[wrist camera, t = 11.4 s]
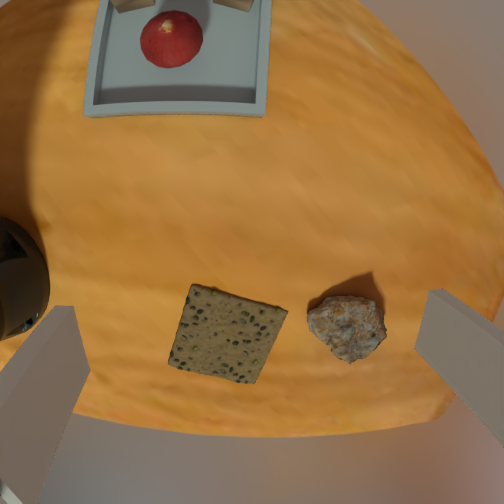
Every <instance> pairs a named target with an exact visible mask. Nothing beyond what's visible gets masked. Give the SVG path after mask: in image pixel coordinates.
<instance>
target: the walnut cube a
mask: <svg viewBox="0 0 504 504" xmlns="http://www.w3.org/2000/svg"><path fill="white" fill-rule="evenodd" d="M110 1H111V3H112V4H113V6H114V7H115V9H116V10H117V12H118V13H119V14H121V13H124V12H128V11H132V10H137V9H141V8H146V7H150V6H155V0H110Z"/></svg>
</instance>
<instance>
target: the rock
mask: <svg viewBox="0 0 504 504" xmlns="http://www.w3.org/2000/svg"><path fill="white" fill-rule="evenodd" d="M307 322H308V324H309V329H310V332H313V333H314V334H315V335H316V337H318V338H319V339H320V340H321V341H323V342H325V344H326V345H327V346H329V347H331V353H332V354H333V355H335V356H336V357H337V358H339V359H341V360H342V359H343V360H344V361H347V362H348V363H349V364H351V362H354V361H355V360H356V359H363V358H365V357H367V356H368V355H369V354H370V353H371V352H372V351H374V350H375V349H376V348H377V347H378V345H380V343H381V342H382V341H383V340H384V339H385V338H386V337H387V334H386V331H387V329H386V328H385V325H384V316H383V313H382V311H381V310H380V309H379V308H378V307H377V306H376V302H375V301H374V300H370V299H365V298H363V297H354V296H335V297H327V298H326V299H324V300H323V302H322V303H321V304H320V305H319V306H318V307H317V308H314V309H313V310H310V311H309V312H308V316H307Z"/></svg>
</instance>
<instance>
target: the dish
mask: <svg viewBox="0 0 504 504" xmlns="http://www.w3.org/2000/svg"><path fill="white" fill-rule="evenodd" d="M271 5H272V0H254V2H253V4H252V6H251V9H250V11H249V13H248V12H245V11H241V10H238V9H234V8H230V7H226V6H223V5H219V4H215V3H213V0H155V6H150V7H146V8H141V9H137V10H132V11H128V12H124V13H121V14H119V13H118V12H117V10H116V9H115V7H114V6H113V4H112V3H111V1H110V0H100V4H99V8H98V13H97V18H96V23H95V28H94V33H93V39H92V45H91V51H90V57H89V64H88V72H87V80H86V89H85V99H84V111H83V116H86V117H89V118H100V117H114V116H132V115H166V114H193V115H227V116H246V117H260V118H262V117H263V116H264V115H265V114H266V96H267V79H268V61H269V43H270V24H271ZM171 10H178V11H183V12H187V13H188V14H190V15H191V16H193V17H194V18H196V19H197V21H198V23H199V25H200V26H201V28H202V32H203V43H202V46H201V48H200V51H199V53H198V54H197V55H196V56H195V57H194V58H193V59H192V60H191V61H190V62H188V63H186V64H184V65H182V66H180V67H175V68H169V69H168V68H162V67H157V66H156V65H154V64H153V63H151V62H149V61H148V60H147V59H146V58H145V56H144V54H143V52H142V50H141V45H140V36H141V33H142V30H143V28H144V26H145V25H146V24H147V23H148V22H149V20H150V19H151V18H153V17H154V16H156V15H158V14H159V13H161V12H165V11H171Z"/></svg>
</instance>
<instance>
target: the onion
mask: <svg viewBox="0 0 504 504" xmlns="http://www.w3.org/2000/svg"><path fill="white" fill-rule="evenodd" d="M202 43H203V32H202V28H201V26H200V25H199V23H198V21H197V19H196V18H194V17H193V16H191V15H190V14H188V13H187V12H183V11H178V10H171V11H165V12H161V13H159V14H158V15H156V16H154V17H153V18H151V19H150V20H149V22H148V23H147V24H146V25H145V26H144V28H143V30H142V33H141V36H140V45H141V50H142V52H143V54H144V56H145V58H146V59H147V60H148V61H149V62H151V63H153V64H154V65H156V66H157V67H162V68H168V69H169V68H175V67H180V66H182V65H184V64H186V63H188V62H190V61H191V60H192V59H193V58H194V57H195V56H196V55H197V54H198V53H199V51H200V48H201V46H202Z"/></svg>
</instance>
